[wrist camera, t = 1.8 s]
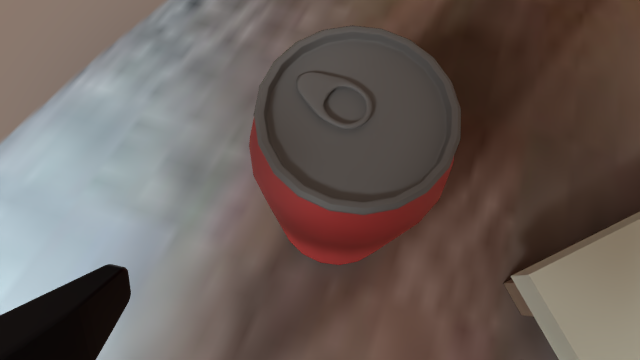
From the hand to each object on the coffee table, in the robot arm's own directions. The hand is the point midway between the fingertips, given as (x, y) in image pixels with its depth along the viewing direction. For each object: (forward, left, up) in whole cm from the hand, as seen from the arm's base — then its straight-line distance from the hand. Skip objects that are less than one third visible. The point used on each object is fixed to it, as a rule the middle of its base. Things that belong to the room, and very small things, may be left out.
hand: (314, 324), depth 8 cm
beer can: (+4, -3, -12) cm, 13 cm away
